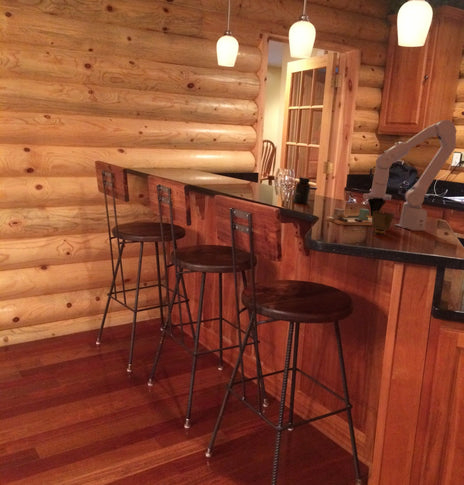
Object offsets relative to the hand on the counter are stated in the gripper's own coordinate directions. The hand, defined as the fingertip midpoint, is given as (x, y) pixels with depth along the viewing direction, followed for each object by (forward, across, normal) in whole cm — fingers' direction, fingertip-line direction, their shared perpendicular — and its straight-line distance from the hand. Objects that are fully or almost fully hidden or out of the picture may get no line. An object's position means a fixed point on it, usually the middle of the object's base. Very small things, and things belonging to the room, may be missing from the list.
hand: (373, 216), depth 212 cm
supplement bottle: (+3, +4, -42) cm, 42 cm away
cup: (+3, +17, +19) cm, 26 cm away
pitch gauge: (+2, +10, 0) cm, 10 cm away
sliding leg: (+1, +6, +2) cm, 6 cm away
